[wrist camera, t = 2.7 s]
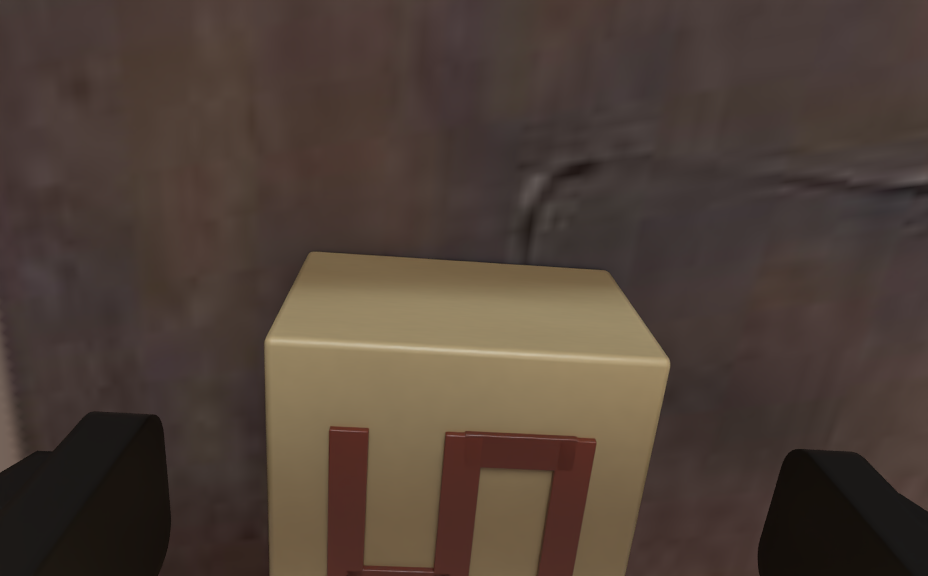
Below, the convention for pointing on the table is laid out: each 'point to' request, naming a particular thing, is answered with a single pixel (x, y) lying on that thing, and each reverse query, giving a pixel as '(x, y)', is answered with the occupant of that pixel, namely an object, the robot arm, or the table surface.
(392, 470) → the tile
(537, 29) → the table surface
